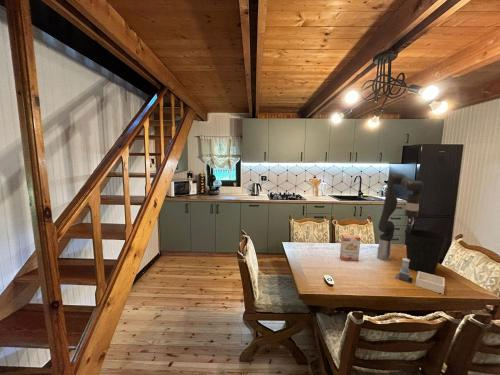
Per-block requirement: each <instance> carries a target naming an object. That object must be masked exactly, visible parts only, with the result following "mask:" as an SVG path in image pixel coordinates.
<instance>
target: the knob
mask: <svg viewBox="0 0 500 375" xmlns="http://www.w3.org/2000/svg"><path fill="white" fill-rule="evenodd" d="M401 260H402V266H401V268H400V270H399V273H398V274H399V279H402V280H406V281H408V280H409V277H410V272H411V271H410V270H409V268H408V267H409V262H410V260H409V259H407V257H403V258H401Z"/></svg>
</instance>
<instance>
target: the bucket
mask: <svg viewBox="0 0 500 375" xmlns="http://www.w3.org/2000/svg"><path fill="white" fill-rule="evenodd" d="M404 235H405V249H406V252H405V253H406V258H407V259H409V260H410V262H409V267H408V270H409V271H410V270H411V271H413V272H417V273H418V271H420V272H424V273H428V274H433V275H435V274H436V273H437V272H436V271H437V268H438V265H439V262H440V259H441V256H442V253H443V252H444V248H445V246H446V244H447V243H446V242H447V240H448V238H447V237H446V236H445V235H443V234H440V233H437V232H434V231H429V230H425V229H424V230H422V229H413V228H412V231H411V233H407V228H405V230H404Z"/></svg>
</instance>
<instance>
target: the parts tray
mask: <svg viewBox="0 0 500 375" xmlns="http://www.w3.org/2000/svg"><path fill="white" fill-rule="evenodd" d="M445 278H446V277H442V276H439V275H435V274H433V275H432V274H428V273H424V272H420V271H418V272H417V275H416V278H415V286H416V287H417V288H418V287H419V288H423V289H425V290H429V291H433V292H435V293H438V294H439V293H442V294H443V295H444V292H445V288H446V287H445V285H446V284H445V283H446V279H445Z"/></svg>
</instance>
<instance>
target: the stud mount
mask: <svg viewBox="0 0 500 375" xmlns="http://www.w3.org/2000/svg"><path fill="white" fill-rule="evenodd" d="M394 279H395V280H399V281H401V282H405V283H409V284H412V282H413V279H414V278H413V277H411V276H409V280H408V281H406V280H402V279H399V273H396V275H395V277H394Z"/></svg>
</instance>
